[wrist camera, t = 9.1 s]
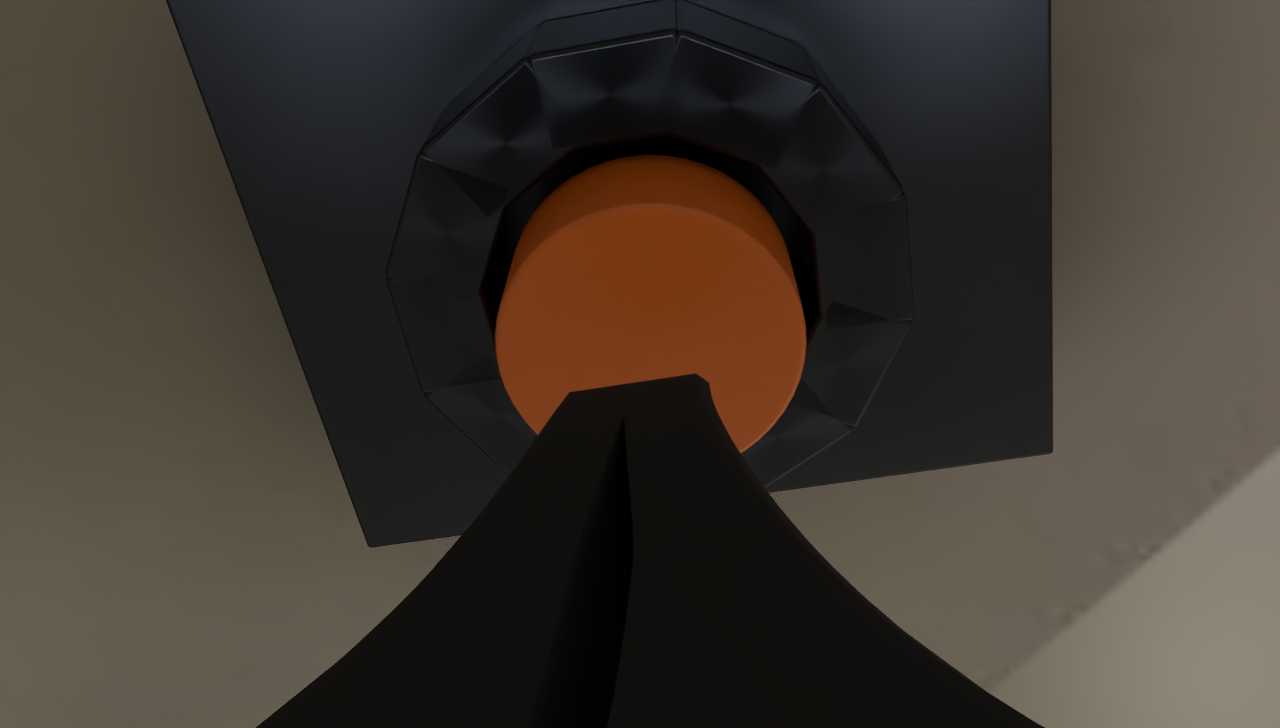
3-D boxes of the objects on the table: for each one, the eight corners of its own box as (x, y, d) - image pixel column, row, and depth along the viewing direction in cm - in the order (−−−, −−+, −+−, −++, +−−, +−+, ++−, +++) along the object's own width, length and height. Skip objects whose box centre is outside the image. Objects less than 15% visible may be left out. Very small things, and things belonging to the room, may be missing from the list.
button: (545, 424, 16) (532, 499, 14) (480, 178, 14) (459, 233, 12) (805, 386, 15) (822, 458, 14) (773, 129, 13) (789, 180, 12)
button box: (395, 473, 20) (340, 625, 17) (219, -42, 16) (95, 17, 13) (1014, 383, 19) (1093, 526, 16) (1001, -194, 15) (1106, -175, 11)
